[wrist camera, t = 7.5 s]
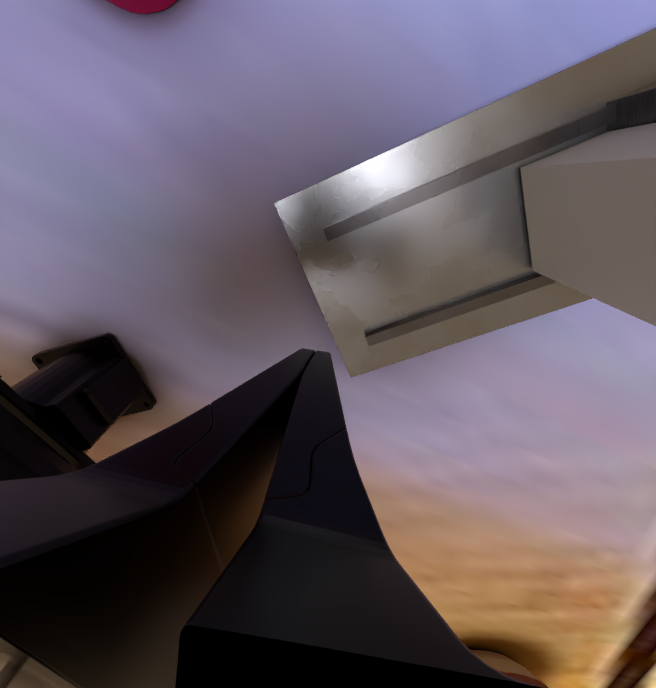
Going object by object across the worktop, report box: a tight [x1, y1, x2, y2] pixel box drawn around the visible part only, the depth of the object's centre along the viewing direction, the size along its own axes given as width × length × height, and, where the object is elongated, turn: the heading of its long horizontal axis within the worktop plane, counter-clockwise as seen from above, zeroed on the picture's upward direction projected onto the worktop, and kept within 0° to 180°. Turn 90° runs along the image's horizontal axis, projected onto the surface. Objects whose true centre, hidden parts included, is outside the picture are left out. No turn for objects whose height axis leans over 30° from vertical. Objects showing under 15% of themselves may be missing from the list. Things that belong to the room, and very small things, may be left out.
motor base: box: [274, 28, 656, 377], centre depth 14 cm, size 22×12×12 cm, turn 112°
